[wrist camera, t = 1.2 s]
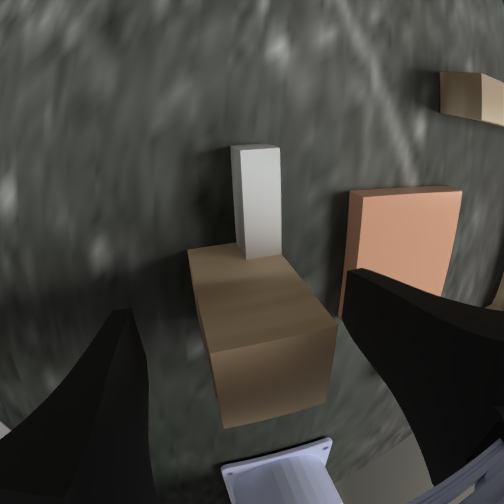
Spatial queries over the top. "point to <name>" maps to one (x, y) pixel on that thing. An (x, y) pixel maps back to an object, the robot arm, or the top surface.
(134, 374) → the robot arm
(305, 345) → the wood block with post
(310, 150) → the top surface
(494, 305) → the tile rest
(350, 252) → the terracotta tile
